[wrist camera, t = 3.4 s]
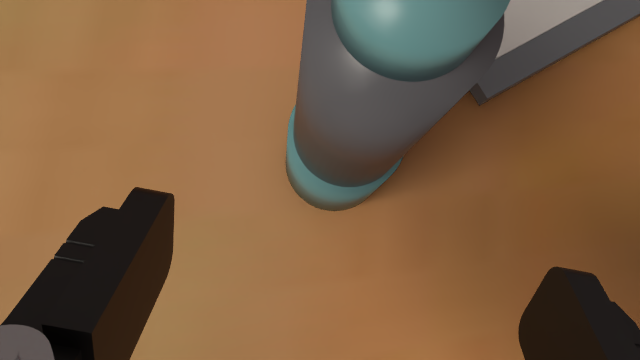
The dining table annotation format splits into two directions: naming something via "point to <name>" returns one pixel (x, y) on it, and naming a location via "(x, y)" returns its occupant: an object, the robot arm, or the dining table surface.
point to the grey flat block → (548, 37)
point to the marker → (380, 87)
